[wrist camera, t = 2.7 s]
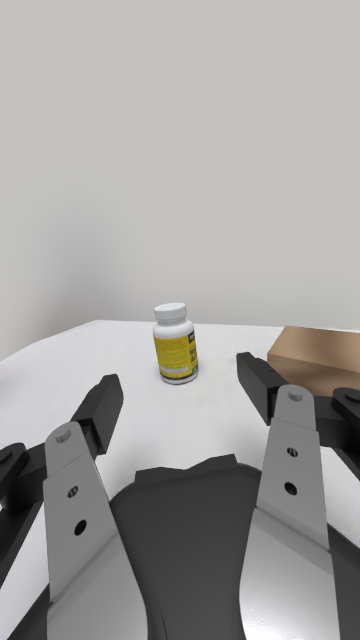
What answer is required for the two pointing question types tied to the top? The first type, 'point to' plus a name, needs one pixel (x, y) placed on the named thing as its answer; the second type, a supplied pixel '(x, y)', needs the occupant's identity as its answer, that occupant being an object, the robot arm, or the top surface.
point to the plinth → (317, 359)
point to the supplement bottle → (175, 343)
